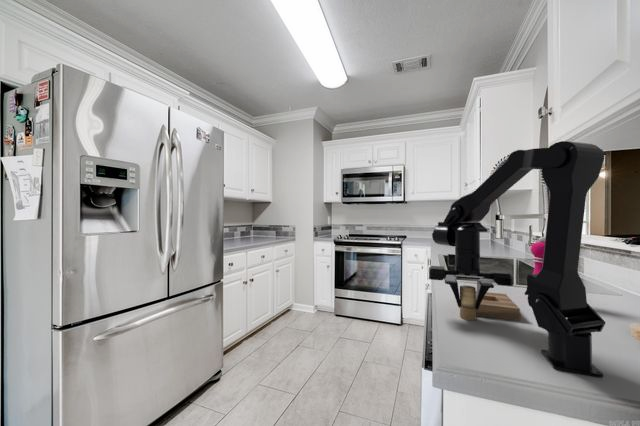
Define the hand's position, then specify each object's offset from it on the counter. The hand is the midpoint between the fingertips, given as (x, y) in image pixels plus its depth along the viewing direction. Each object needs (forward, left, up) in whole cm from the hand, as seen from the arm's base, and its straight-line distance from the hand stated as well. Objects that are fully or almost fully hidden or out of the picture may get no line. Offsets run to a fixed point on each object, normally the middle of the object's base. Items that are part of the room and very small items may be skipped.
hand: (467, 308), depth 70 cm
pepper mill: (+26, -24, -3) cm, 35 cm away
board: (+10, -6, -2) cm, 12 cm away
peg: (0, 0, -2) cm, 2 cm away
